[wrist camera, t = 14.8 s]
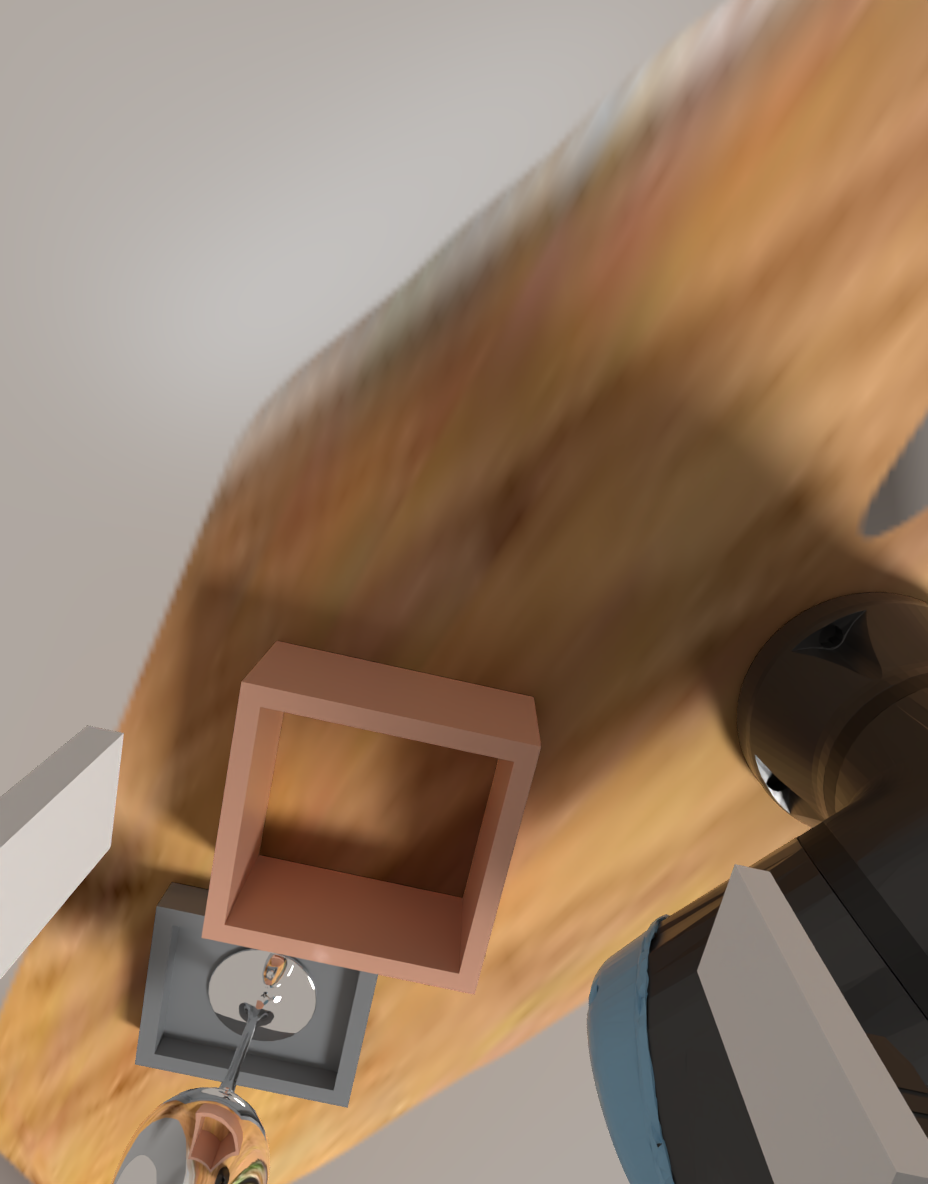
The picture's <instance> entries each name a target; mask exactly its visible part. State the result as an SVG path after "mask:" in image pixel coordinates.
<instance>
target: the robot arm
mask: <svg viewBox="0 0 928 1184" xmlns="http://www.w3.org/2000/svg"><path fill="white" fill-rule="evenodd" d="M737 730H738V737H739V742H740V746H741V749H742V752H743V755H744V757H745V759H746V762H747V764H748V766H749V767H750V769H751V771H752V772H753V774H754V775H755V777H756V778H757V779H758V781H759V782H760V784H761V785H762V786H763V788H764V789H765V791H766V792H767V793H768V794H769V796H770V797H771V798H772V799H773V800H774V801H775V802H776V803H777V804H778V805H779V806H780V807H781V808H782V809H784V810H785V811H786V812H787V813H788V814H790V815H791V816H793V817H794V818H795V819H797V820H799V821H800V822H802V823H804V824H806V825H808V826H810V827H812V829H810V830H808V831H807V832H805V833H804V834H802V835H800V836H798V837H796V838H794V839H793V840H791V841H790V842H788V843H786V844H785V845H783V846H782V847H780V848H778V849H777V850H775V851H774V852H772V853H770V854H769V855H767V856H766V857H764V858H762V859H761V860H759V861H758V862H756V863H754V864H753V865H751V866H750V867H745V866H741V865H736V864H735V865H734V868H733V871H732V874H731V877H730V879H729V880H727V881H725V882H724V883H722V884H721V885H719V886H717V887H716V888H714V889H713V890H711V891H709V892H708V893H706V894H705V895H703V896H701V897H700V898H698V899H697V900H695V901H693V902H692V903H690V904H689V905H687V906H685V907H684V908H682V909H681V910H679V911H677V912H676V913H674V914H673V915H671V916H669V915H667V914H666V915H663V916H661V917H659V918H657V919H656V920H655V921H654V922H652V924H651V925H650V927H649V928H648V930H647V931H646V932H644V933H643V934H642V935H640V936H639V937H638V938H636V939H635V940H633V941H632V942H631V943H629V944H628V945H626V946H625V947H624V948H622V949H621V950H619V951H618V952H617V953H615V954H614V955H612V956H611V957H610V958H608V959H607V960H606V961H605V962H604V964H603V965H602V966H601V967H600V969H599V970H598V972H597V974H596V976H595V978H594V980H593V983H592V986H591V992H590V995H589V1010H588V1013H587V1035H588V1046H589V1054H590V1061H591V1066H592V1071H593V1076H594V1081H595V1086H596V1089H597V1093H598V1097H599V1101H600V1105H601V1108H602V1111H603V1115H604V1118H605V1121H606V1124H607V1127H608V1130H609V1133H610V1136H611V1139H612V1142H613V1145H614V1147H615V1150H616V1152H617V1155H618V1158H619V1160H620V1162H621V1165H622V1167H623V1169H624V1172H625V1174H626V1176H627V1178H628V1180H629V1182H630V1184H928V603H926V602H924V601H921V600H919V599H916V598H913V597H909V596H905V595H900V594H894V593H883V592H869V593H858V594H852V595H846V596H842V597H838V598H835V599H832V600H829V601H826V602H824V603H821V604H819V605H816V606H814V607H812V608H810V609H808V610H806V611H805V612H803V613H801V614H800V615H798V616H797V617H795V618H793V619H792V620H791V621H789V622H788V623H787V624H785V625H784V626H783V627H782V628H781V629H780V630H778V631H777V632H776V633H775V634H774V635H773V636H772V637H771V638H770V639H769V641H768V642H767V643H766V644H765V645H764V646H763V648H762V649H761V650H760V652H759V653H758V655H757V656H756V658H755V659H754V661H753V663H752V664H751V666H750V668H749V670H748V672H747V674H746V677H745V679H744V682H743V685H742V688H741V691H740V696H739V700H738V707H737ZM123 736H124V733H120V732H116V731H111V730H106V729H102V728H97V727H93V726H86V727H85V728H84V729H82V730H81V731H80V732H79V733H78V734H76V735H75V736H74V737H73V738H72V739H70V740H69V741H68V742H67V743H65V744H64V745H63V746H62V747H61V748H59V749H58V750H57V751H56V752H54V753H53V754H52V755H51V756H50V757H48V758H47V759H46V760H45V761H44V762H43V763H41V764H40V765H39V766H37V767H36V768H35V769H34V770H33V771H31V772H30V773H29V774H28V775H27V776H25V777H24V778H23V779H22V780H20V781H19V782H18V783H17V784H16V785H15V786H13V787H12V788H11V789H10V790H8V791H7V792H6V793H5V794H4V795H2V796H1V797H0V979H1V978H2V977H3V976H4V974H5V973H6V972H7V970H8V969H9V968H10V967H11V966H12V965H13V964H14V962H15V961H16V960H17V959H18V958H19V956H20V955H21V954H22V953H23V952H24V950H25V949H26V948H27V947H28V946H29V944H30V943H31V942H32V941H33V940H34V938H35V937H36V936H37V935H38V934H39V932H40V931H41V930H42V929H43V928H44V926H45V925H46V924H47V923H48V922H49V920H50V919H51V918H52V917H53V916H54V915H55V913H56V912H57V911H58V910H59V909H60V907H61V906H62V905H63V904H64V903H65V901H66V900H67V899H68V898H69V897H70V895H71V894H72V893H73V892H74V891H75V889H76V888H77V887H78V886H79V885H80V883H81V882H82V881H83V880H84V879H85V877H86V876H87V875H88V874H89V873H90V871H91V870H92V869H93V868H94V867H95V865H96V864H97V863H98V862H99V861H100V859H101V858H102V857H103V856H104V855H105V853H106V852H107V851H108V850H109V849H110V847H111V839H112V830H113V822H114V813H115V804H116V796H117V787H118V779H119V770H120V761H121V753H122V744H123Z"/></svg>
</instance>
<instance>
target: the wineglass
mask: <svg viewBox="0 0 928 1184" xmlns="http://www.w3.org/2000/svg"><path fill="white" fill-rule="evenodd" d="M208 995H209V1001H210V1004H211V1007H212V1009H213V1011H214V1013H215V1014H216V1016H217V1018H218V1019H219V1020H220V1021H221V1022H222V1023H223V1024H224V1025H225V1026H226V1027H228V1028H229V1029H230V1030H231V1031H233V1032H235V1033H237V1034H239V1035H241V1039H240V1041H239V1044H238V1046H237V1049H236V1051H235V1054H234V1057H233V1059H232V1062H231V1064H230V1066H229V1069H228V1071H227V1073H226V1076H225V1078H224V1080H223V1082H222V1083H221V1085H220V1087H219V1088H216V1087H207V1088H195V1089H190V1090H187V1091H184V1092H181V1093H179V1094H178V1095H176V1096H174V1097H172V1098H171V1099H169V1100H167V1101H166V1102H164V1103H162V1104H160V1105H159V1106H158V1107H157V1108H156V1109H155V1110H154V1111H153V1112H152V1113H151V1114H150V1115H149V1116H148V1117H147V1118H146V1119H145V1120H144V1121H143V1122H142V1123H141V1124H140V1125H139V1127H138V1128H137V1130H136V1131H135V1133H134V1135H133V1136H132V1138H131V1140H130V1141H129V1143H128V1145H127V1147H126V1148H125V1150H124V1152H123V1154H122V1157H121V1159H120V1162H119V1164H118V1166H117V1169H116V1171H115V1174H114V1176H113V1179H112V1182H111V1184H268V1179H269V1173H270V1150H269V1142H268V1138H267V1136H266V1133H265V1130H264V1127H263V1125H262V1122H261V1120H260V1117H259V1116H258V1114H257V1113H256V1111H255V1110H254V1109H253V1108H252V1107H251V1106H250V1105H249V1104H248V1103H247V1102H246V1101H245V1100H244V1099H242V1098H241V1097H240V1096H238V1095H237V1094H235V1093H234V1092H235V1087H236V1083H237V1079H238V1076H239V1073H240V1070H241V1067H242V1064H243V1062H244V1059H245V1056H246V1053H247V1051H248V1048H249V1045H250V1043H251V1040H258V1041H277V1040H283V1039H285V1038H288V1037H291V1036H293V1035H295V1034H296V1033H298V1032H300V1031H301V1030H302V1029H303V1028H304V1027H305V1026H307V1025H308V1023H309V1022H310V1020H311V1019H312V1017H313V1015H314V1013H315V1010H316V1006H317V990H316V987H315V984H314V981H313V979H312V977H311V976H310V974H309V972H308V971H307V970H306V969H305V968H304V967H303V966H302V965H301V964H300V963H299V962H298V961H296V960H295V959H294V958H292V957H290V956H287V955H282V954H277V953H272V952H268V951H263V950H258V949H253V948H250V949H244V950H241V951H238V952H235V953H233V954H231V955H229V956H228V957H226V958H225V959H223V960H222V961H221V962H220V963H219V964H218V965H217V966H216V968H215V970H214V971H213V973H212V975H211V978H210V981H209V987H208Z"/></svg>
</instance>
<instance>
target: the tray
mask: <svg viewBox="0 0 928 1184" xmlns="http://www.w3.org/2000/svg"><path fill="white" fill-rule="evenodd" d="M208 892H209V890H207V889H202V888H197V887H192V886H187V885H183V884H178V883H173V882H172V883H171V885H170V886H169V888H168V889H167V891H166V892H165V894H164V895H163V897H162V899H161V900H160V902H159V903H158V905H157V907H156V915H155V922H154V929H153V937H152V944H151V951H150V958H149V966H148V973H147V980H146V988H145V995H144V1002H143V1009H142V1017H141V1024H140V1031H139V1039H138V1046H137V1053H136V1060H135V1064H136V1065H141V1066H146V1067H151V1068H156V1069H161V1070H166V1071H171V1072H175V1073H180V1074H185V1075H190V1076H195V1077H200V1078H205V1079H210V1080H215V1081H220V1082H223V1080H224V1078H225V1076H226V1073H227V1071H228V1069H229V1066H230V1064H231V1062H232V1059H233V1057H234V1054H235V1051H236V1049H237V1046H238V1044H239V1041H240V1039H241V1035H239V1034H237V1033H235V1032H233V1031H231V1030H230V1029H229V1028H228V1027H226V1026H225V1025H224V1024H223V1023H222V1022H221V1021H220V1020H219V1019H218V1018H217V1016H216V1014H215V1013H214V1011H213V1009H212V1007H211V1004H210V1001H209V995H208V987H209V981H210V978H211V975H212V973H213V971H214V970H215V968H216V966H217V965H218V964H219V963H220V962H221V961H222V960H223V959H225V958H226V957H228V956H229V955H231V954H233V953H235V952H238V951H241V950H244V949H250V948H248V947H244V946H239V945H234V944H229V943H224V942H220V941H215V940H210V939H205V938H201V937H202V931H203V924H204V918H205V911H206V905H207V899H208ZM290 957H292V956H290ZM292 958H294V959H295V960H296V961H298V962H299V963H300V964H301V965H302V966H303V967H304V968H305V969H306V970H307V971H308V972H309V974H310V976H311V977H312V979H313V981H314V984H315V987H316V990H317V1006H316V1010H315V1013H314V1015H313V1017H312V1019H311V1020H310V1022H309V1023H308V1025H307V1026H305V1027H304V1028H303V1029H302V1030H301V1031H300V1032H298V1033H296V1034H295V1035H293V1036H291V1037H288V1038H285V1039H283V1040H277V1041H258V1040H251V1043H250V1045H249V1048H248V1051H247V1053H246V1056H245V1059H244V1062H243V1064H242V1067H241V1070H240V1073H239V1076H238V1079H237V1083H236V1085H239V1086H244V1087H249V1088H254V1089H259V1090H264V1091H269V1092H274V1093H278V1094H283V1095H288V1096H293V1097H298V1098H303V1099H308V1100H313V1101H318V1102H323V1103H328V1104H332V1105H337V1106H342V1107H347V1108H348V1103H349V1099H350V1095H351V1090H352V1086H353V1082H354V1077H355V1073H356V1069H357V1064H358V1060H359V1055H360V1051H361V1047H362V1042H363V1038H364V1034H365V1029H366V1025H367V1021H368V1016H369V1012H370V1007H371V1003H372V999H373V994H374V990H375V986H376V981H377V977H378V974H373V973H368V972H364V971H359V970H354V969H349V968H344V967H340V966H335V965H330V964H325V963H320V962H316V961H311V960H306V959H301V958H296V957H292Z"/></svg>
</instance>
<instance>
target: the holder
mask: <svg viewBox="0 0 928 1184" xmlns="http://www.w3.org/2000/svg"><path fill="white" fill-rule="evenodd" d="M284 712H286V713H291V714H295V715H300V716H305V717H309V718H314V719H318V720H323V721H328V722H332V723H337V724H342V725H346V726H351V727H355V728H360V729H365V730H369V731H374V732H379V733H383V734H388V735H392V736H397V737H402V738H406V739H411V740H416V741H420V742H425V743H429V744H434V745H439V746H443V747H448V748H452V749H457V750H462V751H466V752H471V753H476V754H480V755H485V756H489V757H494V758H498V762H497V766H496V770H495V774H494V778H493V782H492V786H491V789H490V793H489V797H488V801H487V805H486V809H485V813H484V817H483V821H482V825H481V829H480V833H479V837H478V840H477V844H476V848H475V852H474V856H473V860H472V864H471V868H470V872H469V876H468V880H467V884H466V888H465V891H464V895H463V898H460V897H456V896H451V895H446V894H442V893H437V892H432V891H427V890H423V889H418V888H413V887H408V886H404V885H399V884H394V883H390V882H385V881H380V880H375V879H371V878H366V877H361V876H356V875H352V874H347V873H342V872H338V871H333V870H328V869H323V868H319V867H314V866H309V865H304V864H300V863H295V862H290V861H286V860H281V859H276V858H271V857H267V856H262V855H259V853H260V847H261V841H262V836H263V830H264V824H265V818H266V813H267V807H268V801H269V795H270V790H271V784H272V778H273V772H274V766H275V761H276V755H277V749H278V743H279V738H280V732H281V726H282V720H283V715H284ZM540 750H541V742H540V735H539V728H538V722H537V715H536V708H535V702H534V697H531V696H527V695H522V694H517V693H513V692H508V691H504V690H499V689H495V688H490V687H485V686H481V685H476V684H472V683H467V682H463V681H458V680H453V679H449V678H444V677H440V676H435V675H431V674H426V673H421V672H417V671H412V670H408V669H403V668H399V667H394V666H389V665H385V664H380V663H376V662H371V661H367V660H362V659H357V658H353V657H348V656H344V655H339V654H335V653H330V652H325V651H321V650H316V649H312V648H307V647H303V646H298V645H293V644H289V643H284V642H280V641H276V642H275V643H274V644H273V646H272V647H271V648H270V649H269V650H268V651H267V653H266V654H265V655H264V656H263V657H262V658H261V660H260V661H259V662H258V663H257V664H256V665H255V667H254V668H253V669H252V670H251V671H250V672H249V673H248V675H247V676H246V677H245V678H244V679H243V680H242V682H241V688H240V694H239V700H238V707H237V713H236V720H235V726H234V732H233V739H232V745H231V752H230V758H229V764H228V771H227V777H226V784H225V790H224V796H223V803H222V809H221V816H220V822H219V828H218V835H217V841H216V848H215V854H214V860H213V867H212V873H211V879H210V886H209V892H208V899H207V905H206V911H205V918H204V924H203V931H202V937H201V938H205V939H210V940H215V941H220V942H224V943H229V944H234V945H239V946H244V947H248V948H253V949H258V950H263V951H268V952H272V953H277V954H282V955H287V956H292V957H296V958H301V959H306V960H311V961H316V962H320V963H325V964H330V965H335V966H340V967H344V968H349V969H354V970H359V971H364V972H368V973H373V974H378V975H383V976H388V977H392V978H397V979H402V980H407V981H412V982H416V983H421V984H426V985H431V986H436V987H440V988H445V989H450V990H455V991H460V992H464V993H469V994H474V995H475V991H476V987H477V983H478V980H479V976H480V972H481V969H482V965H483V961H484V957H485V954H486V950H487V946H488V943H489V939H490V935H491V931H492V928H493V924H494V920H495V917H496V913H497V909H498V906H499V902H500V898H501V894H502V891H503V887H504V883H505V880H506V876H507V872H508V868H509V865H510V861H511V857H512V854H513V850H514V846H515V842H516V839H517V835H518V831H519V828H520V824H521V820H522V816H523V813H524V809H525V805H526V802H527V798H528V794H529V791H530V787H531V783H532V779H533V776H534V772H535V768H536V765H537V761H538V757H539V753H540Z"/></svg>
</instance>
